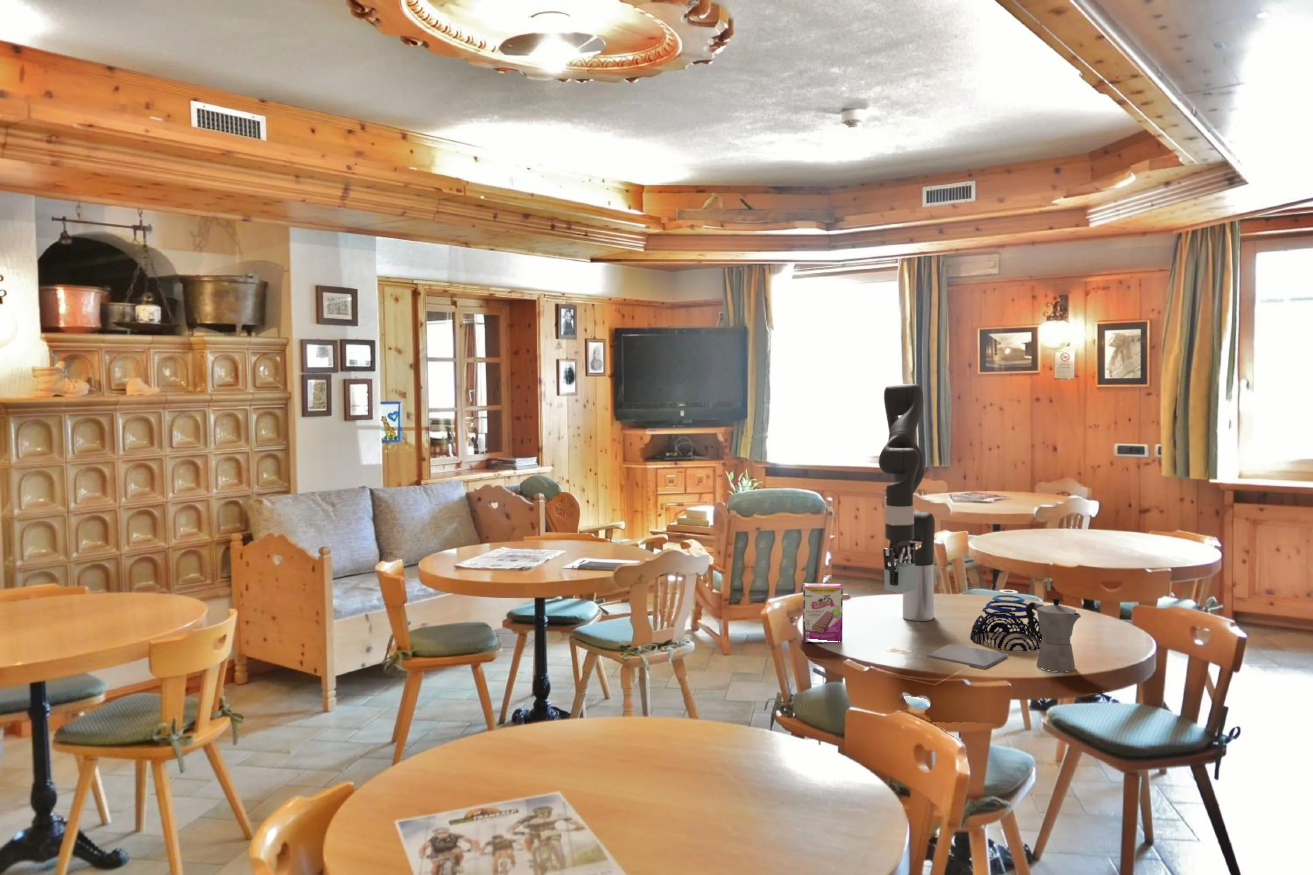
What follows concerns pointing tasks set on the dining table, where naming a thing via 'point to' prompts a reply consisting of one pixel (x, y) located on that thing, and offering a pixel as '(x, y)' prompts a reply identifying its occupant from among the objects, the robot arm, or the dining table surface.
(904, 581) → the pale green block
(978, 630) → the decorative bowl
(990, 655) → the slate plate
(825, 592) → the candy bar box
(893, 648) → the brown coaster
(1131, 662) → the dining table surface
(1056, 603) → the coffeepot
